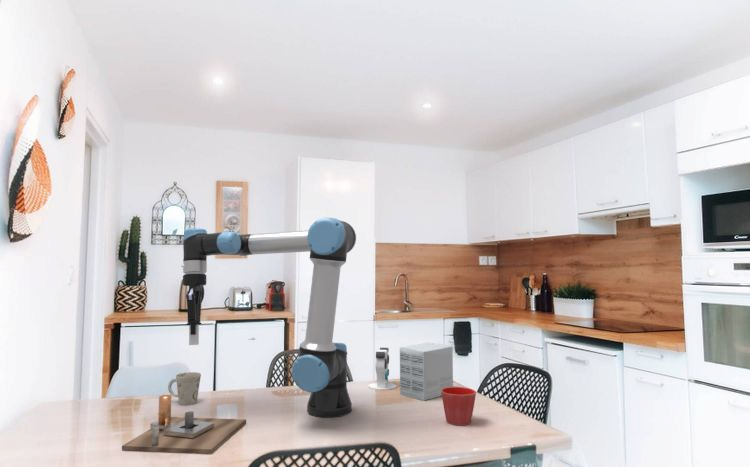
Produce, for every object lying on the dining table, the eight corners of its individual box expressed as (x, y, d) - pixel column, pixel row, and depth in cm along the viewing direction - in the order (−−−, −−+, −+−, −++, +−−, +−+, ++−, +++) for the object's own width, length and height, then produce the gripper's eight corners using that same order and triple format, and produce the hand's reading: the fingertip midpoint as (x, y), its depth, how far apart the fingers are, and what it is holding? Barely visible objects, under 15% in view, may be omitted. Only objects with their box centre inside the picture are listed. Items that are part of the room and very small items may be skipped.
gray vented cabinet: (428, 386, 198) (427, 342, 200) (454, 393, 189) (453, 346, 190) (398, 394, 187) (398, 346, 188) (424, 401, 177) (424, 351, 178)
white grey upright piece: (393, 391, 191) (393, 352, 192) (365, 389, 193) (365, 351, 194) (397, 383, 203) (397, 347, 204) (371, 382, 205) (371, 346, 206)
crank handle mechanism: (214, 426, 144) (214, 395, 145) (192, 438, 135) (193, 404, 136) (164, 421, 149) (165, 391, 150) (140, 432, 140) (141, 399, 140)
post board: (246, 423, 152) (246, 401, 153) (211, 454, 127) (212, 428, 128) (170, 420, 155) (170, 399, 155) (121, 450, 130) (122, 425, 130)
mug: (191, 406, 170) (192, 377, 171) (159, 404, 173) (160, 376, 173) (204, 400, 178) (205, 372, 179) (174, 398, 181) (174, 371, 182)
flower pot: (454, 414, 161) (454, 384, 162) (482, 421, 154) (482, 390, 154) (434, 421, 154) (434, 390, 155) (463, 429, 146) (462, 396, 147)
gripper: (187, 275, 171) (186, 344, 167) (178, 272, 158) (176, 346, 154) (210, 275, 172) (209, 343, 168) (202, 271, 159) (201, 345, 155)
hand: (193, 344), depth 161 cm, fingers closed
